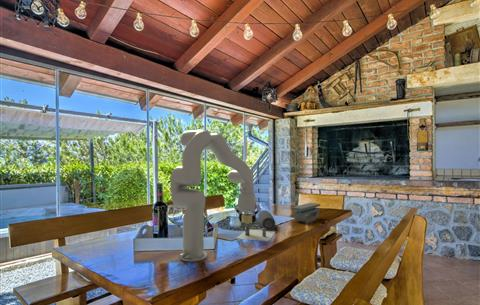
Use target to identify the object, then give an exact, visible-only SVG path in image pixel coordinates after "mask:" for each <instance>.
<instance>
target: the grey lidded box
mask: <svg viewBox="0 0 480 305" xmlns="http://www.w3.org/2000/svg"><path fill="white" fill-rule="evenodd" d="M317 207H321V203H316V202H315V203H314V202H308V203H304V204H300V205H296V206H291V210H293V211H292V216H293V217H294V219H295V220H296V221H297V222H300V223H304V224H308V223H311V222H314V221H316V220H317V218H318V216H319V213H320V208H317Z"/></svg>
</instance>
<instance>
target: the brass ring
mask: <svg viewBox="0 0 480 305" xmlns="http://www.w3.org/2000/svg"><path fill="white" fill-rule="evenodd" d="M252 216H253V214H252V213H247V212H246V213H242V215H241V223H243V224H253V222H252Z"/></svg>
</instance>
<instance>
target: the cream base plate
mask: <svg viewBox="0 0 480 305" xmlns="http://www.w3.org/2000/svg"><path fill="white" fill-rule="evenodd" d="M261 229H262V230H261ZM261 229H250V235H248V236H247V235H245V230H244V231H243V232H241V234H239V235H238V236H236V239H241V240H242V239H243V240H250V241H251V240H252V241H262V242H269V240H270V239H271V238H272V237H273V236H274V235H275V233H276V231H275V230H266V228H263V227H262V228H261Z"/></svg>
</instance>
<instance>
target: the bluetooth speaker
mask: <svg viewBox="0 0 480 305" xmlns="http://www.w3.org/2000/svg"><path fill="white" fill-rule="evenodd" d="M274 218H275V217H274V216H273V215H272V214H271V213H270V212H269V211H268V210H262V209H261V210H260V211H259V212H258V216H257V219H258V221H259V224H260V226H261V227H262V228H266V231H274V229H275V227H276V220H275V219H274Z"/></svg>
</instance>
